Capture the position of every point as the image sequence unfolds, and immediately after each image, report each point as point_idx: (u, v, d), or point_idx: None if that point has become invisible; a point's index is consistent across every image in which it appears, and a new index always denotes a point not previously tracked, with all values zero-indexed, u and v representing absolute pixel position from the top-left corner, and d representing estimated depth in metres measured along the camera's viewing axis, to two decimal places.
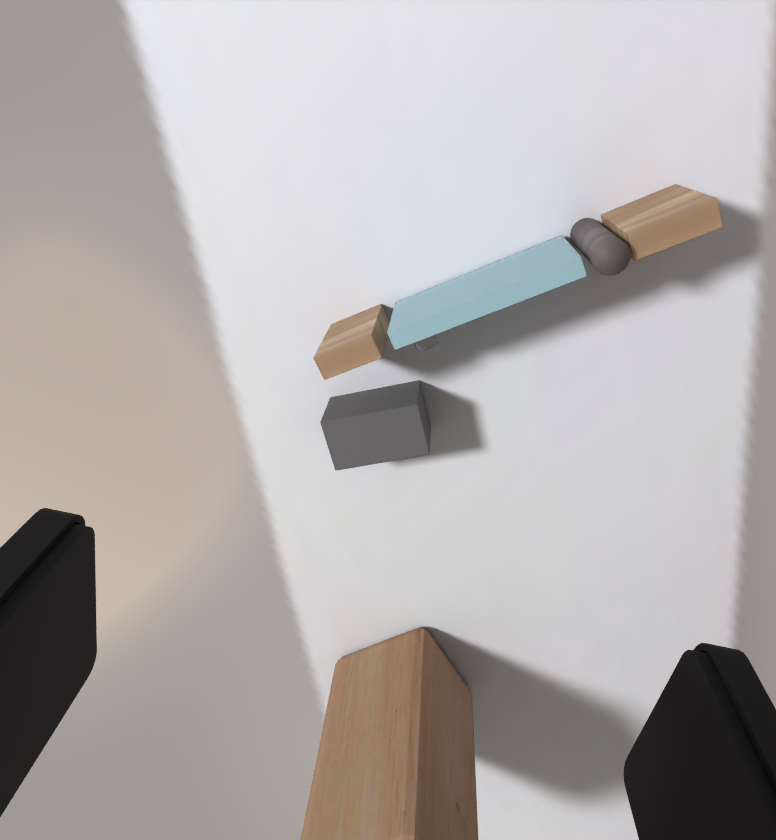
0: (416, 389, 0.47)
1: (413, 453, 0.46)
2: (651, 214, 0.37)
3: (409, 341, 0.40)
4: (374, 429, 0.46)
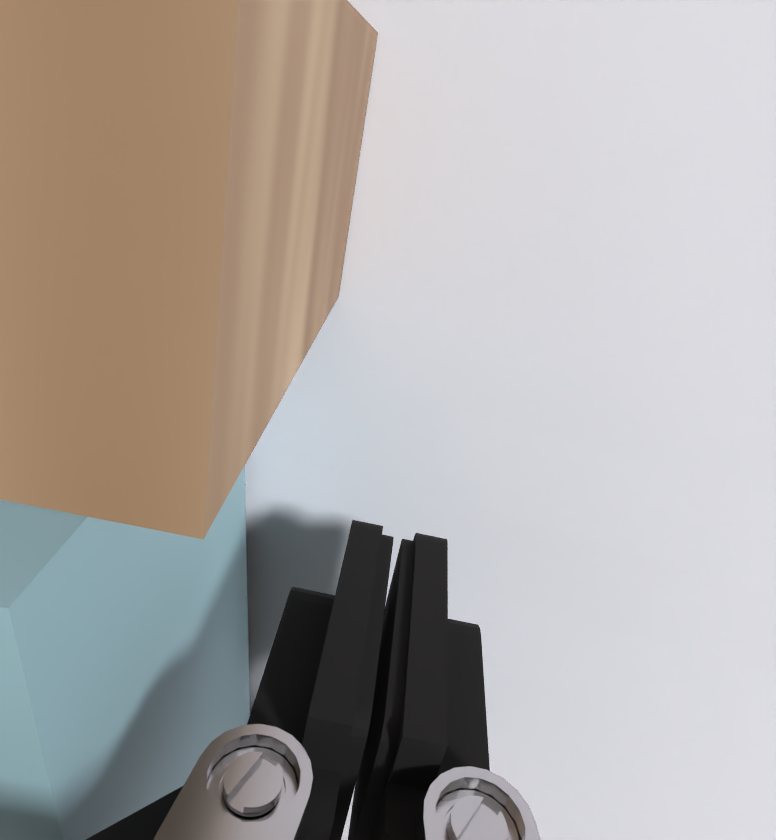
0: None
1: None
2: None
3: None
4: None
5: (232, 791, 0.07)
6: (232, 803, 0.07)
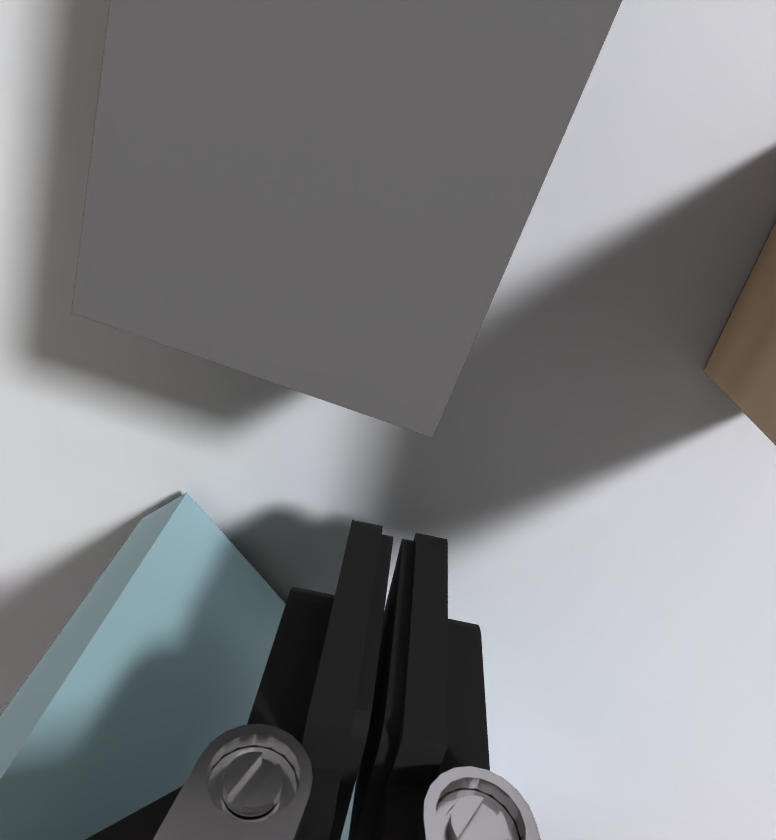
0: None
1: (114, 219, 0.06)
2: None
3: None
4: (429, 61, 0.05)
5: (231, 791, 0.07)
6: (231, 802, 0.07)
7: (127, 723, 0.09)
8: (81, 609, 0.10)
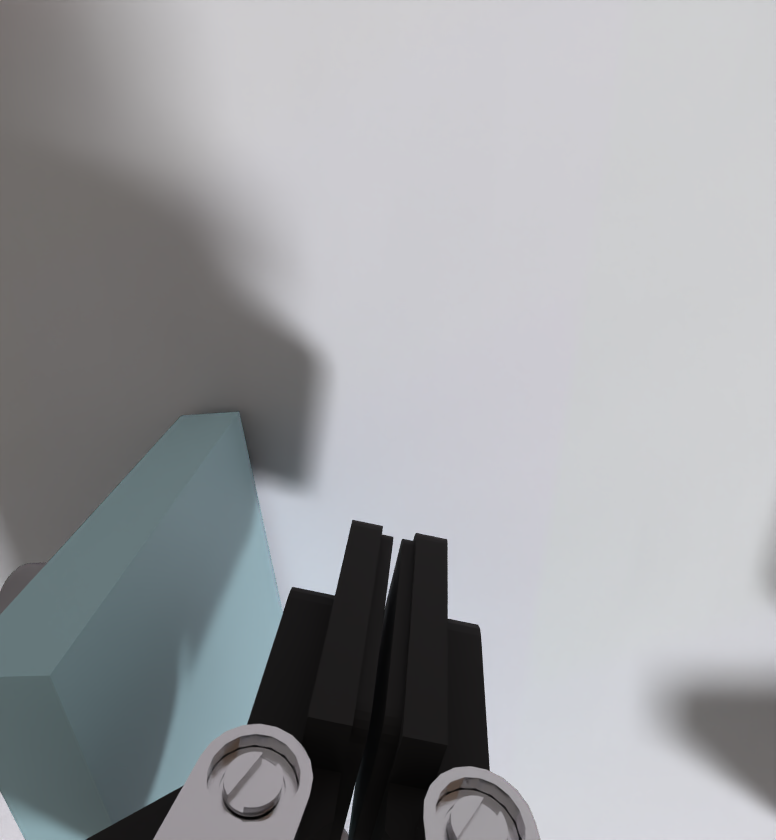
0: None
1: None
2: None
3: None
4: None
5: (232, 791, 0.07)
6: (232, 802, 0.07)
7: (167, 604, 0.09)
8: (130, 481, 0.10)
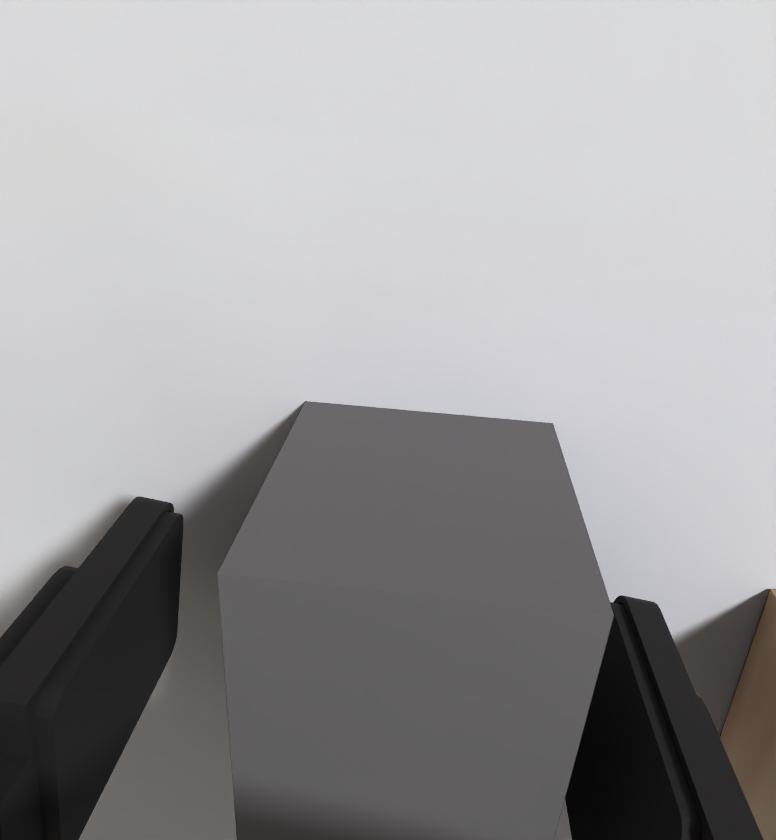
0: None
1: None
2: None
3: None
4: (447, 830, 0.08)
5: None
6: None
7: None
8: None
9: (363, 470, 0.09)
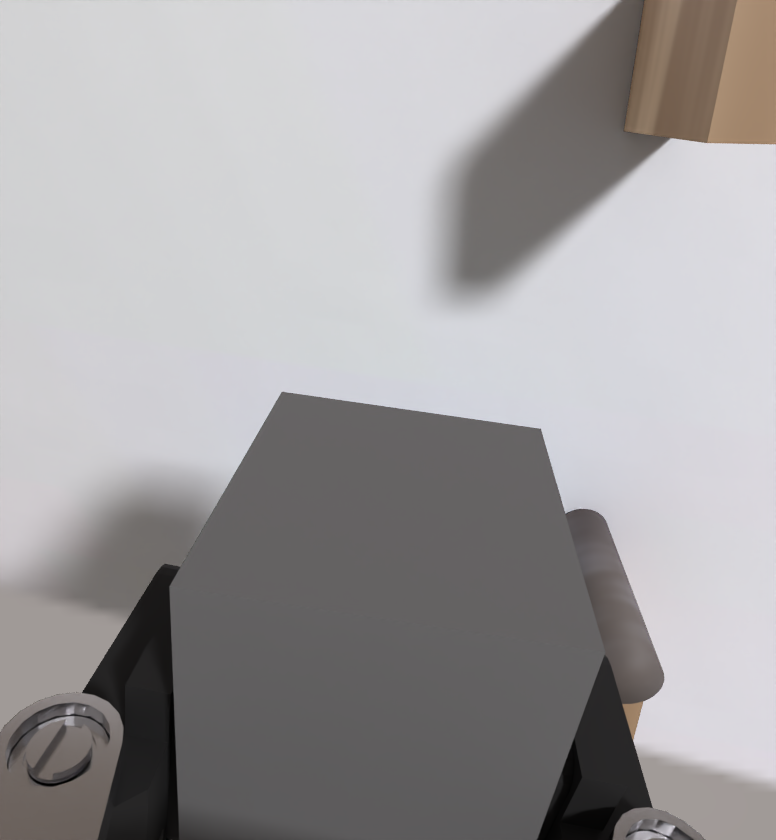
0: None
1: None
2: None
3: None
4: None
5: (37, 764, 0.06)
6: (41, 775, 0.07)
7: None
8: None
9: (338, 474, 0.08)
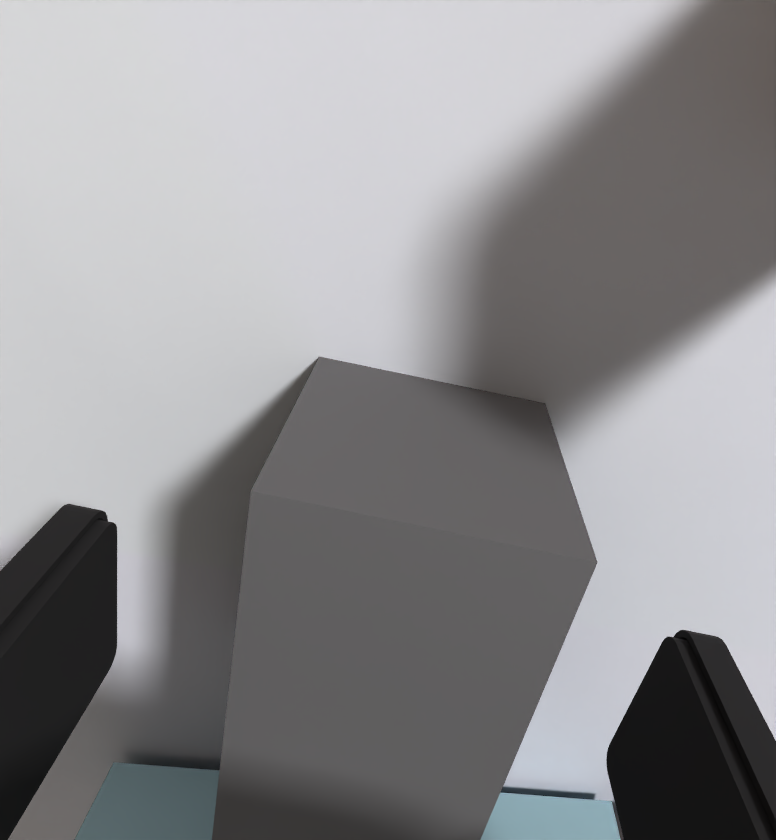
0: None
1: (233, 813, 0.10)
2: None
3: None
4: (418, 750, 0.09)
5: None
6: None
7: None
8: None
9: (375, 421, 0.09)
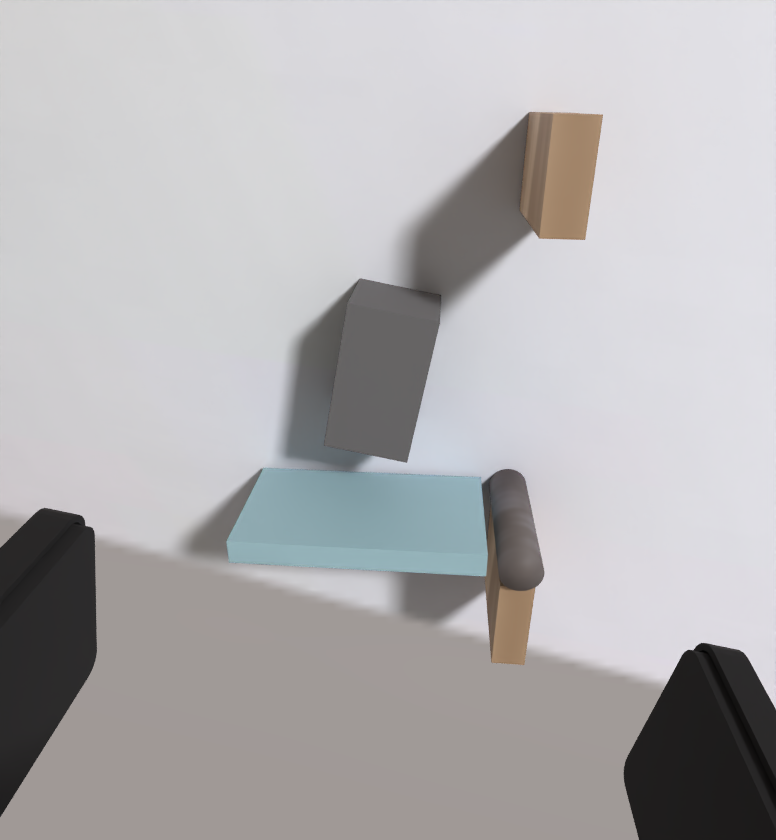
0: None
1: (333, 426, 0.30)
2: None
3: (250, 560, 0.30)
4: (393, 393, 0.29)
5: None
6: None
7: (263, 513, 0.32)
8: None
9: (380, 294, 0.30)
